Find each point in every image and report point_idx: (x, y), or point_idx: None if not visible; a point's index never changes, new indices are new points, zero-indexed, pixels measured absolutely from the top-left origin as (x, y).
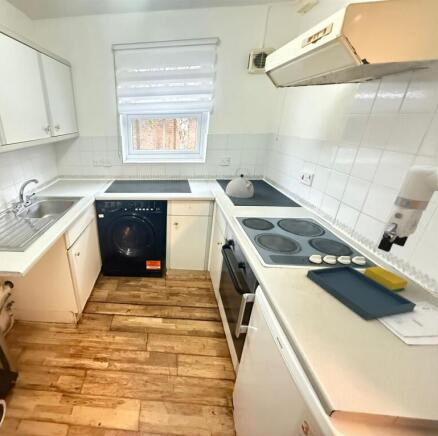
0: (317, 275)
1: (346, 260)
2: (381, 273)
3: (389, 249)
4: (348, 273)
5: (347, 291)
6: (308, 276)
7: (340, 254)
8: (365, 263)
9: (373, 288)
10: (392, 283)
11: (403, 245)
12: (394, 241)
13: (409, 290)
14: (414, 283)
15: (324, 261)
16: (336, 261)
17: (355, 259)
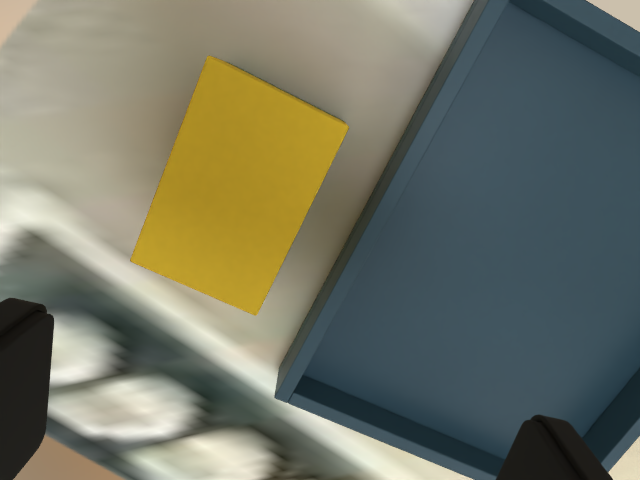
0: None
1: (125, 397)
2: (251, 224)
3: (589, 460)
4: (334, 352)
5: (582, 302)
6: None
7: (69, 441)
8: (48, 311)
9: (413, 207)
10: (343, 136)
11: (30, 313)
12: (18, 456)
13: (197, 31)
14: (44, 19)
15: (269, 472)
16: (201, 431)
17: None
